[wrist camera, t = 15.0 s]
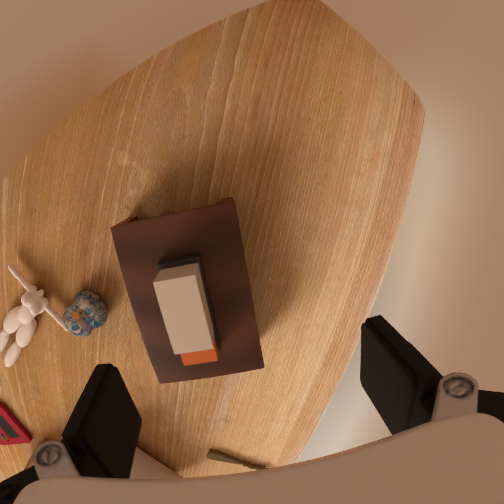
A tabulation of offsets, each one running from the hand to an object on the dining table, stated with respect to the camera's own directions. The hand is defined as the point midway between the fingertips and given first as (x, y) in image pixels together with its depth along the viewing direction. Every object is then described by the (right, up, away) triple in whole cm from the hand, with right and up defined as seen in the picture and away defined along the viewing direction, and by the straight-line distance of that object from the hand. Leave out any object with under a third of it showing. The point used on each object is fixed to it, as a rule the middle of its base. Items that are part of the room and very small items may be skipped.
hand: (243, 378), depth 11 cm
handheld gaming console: (-57, -33, +28) cm, 72 cm away
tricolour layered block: (-6, -1, +19) cm, 20 cm away
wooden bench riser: (-6, +1, +25) cm, 26 cm away
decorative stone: (-20, -3, +25) cm, 32 cm away
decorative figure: (-39, -13, +23) cm, 47 cm away
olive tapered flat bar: (-1, -31, +33) cm, 45 cm away
